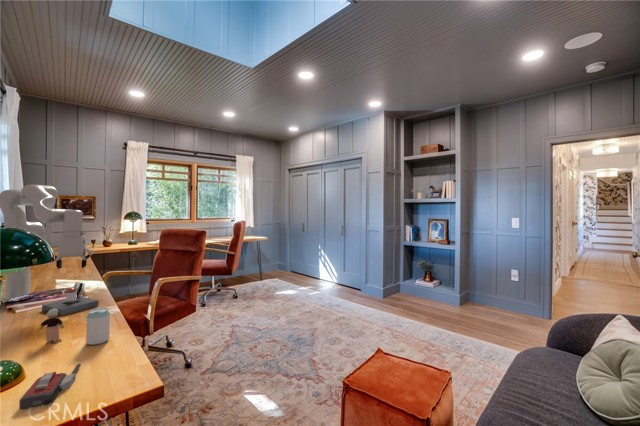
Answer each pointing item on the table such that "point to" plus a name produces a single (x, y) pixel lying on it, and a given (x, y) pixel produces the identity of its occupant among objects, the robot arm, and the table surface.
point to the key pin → (71, 295)
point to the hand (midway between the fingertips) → (71, 267)
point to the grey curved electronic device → (79, 288)
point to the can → (98, 326)
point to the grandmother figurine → (52, 326)
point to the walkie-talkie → (47, 389)
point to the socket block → (71, 306)
